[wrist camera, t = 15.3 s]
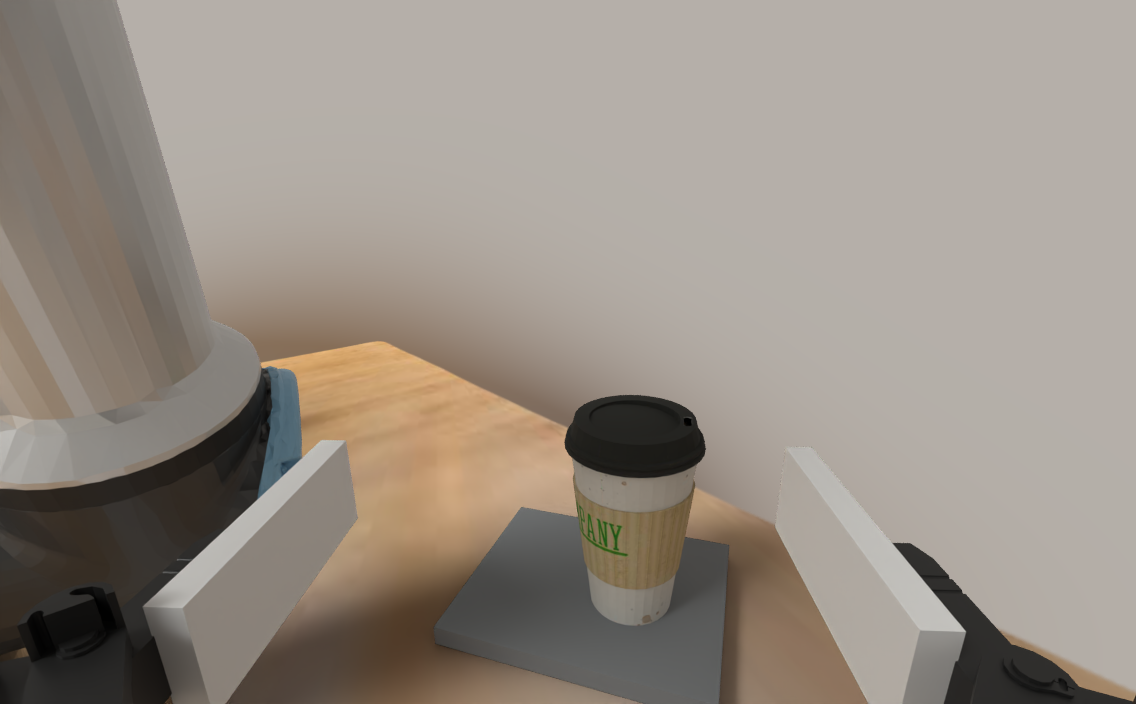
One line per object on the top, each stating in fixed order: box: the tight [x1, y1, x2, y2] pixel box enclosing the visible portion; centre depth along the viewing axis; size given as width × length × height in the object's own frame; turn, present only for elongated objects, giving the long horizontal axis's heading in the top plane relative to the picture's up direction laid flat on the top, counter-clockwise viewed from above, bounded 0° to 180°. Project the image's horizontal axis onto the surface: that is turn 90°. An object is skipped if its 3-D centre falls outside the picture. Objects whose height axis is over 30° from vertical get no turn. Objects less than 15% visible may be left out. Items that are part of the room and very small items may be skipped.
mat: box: [434, 507, 729, 704], centre depth 42 cm, size 20×16×2 cm
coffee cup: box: [565, 395, 706, 626], centre depth 39 cm, size 10×10×15 cm
